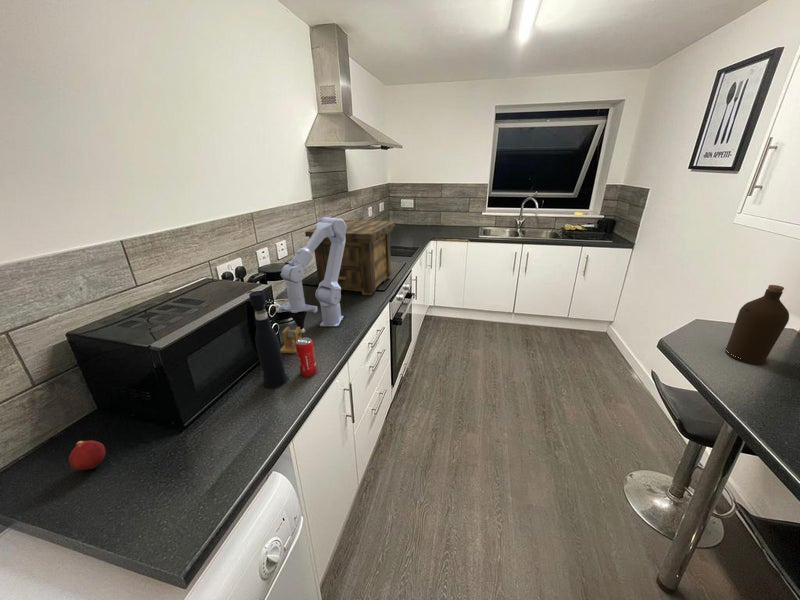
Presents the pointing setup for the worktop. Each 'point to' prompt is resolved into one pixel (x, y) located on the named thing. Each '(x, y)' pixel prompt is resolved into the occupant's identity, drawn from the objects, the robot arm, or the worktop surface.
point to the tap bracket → (290, 340)
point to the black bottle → (267, 344)
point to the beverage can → (306, 356)
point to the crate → (359, 255)
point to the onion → (87, 455)
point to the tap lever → (290, 332)
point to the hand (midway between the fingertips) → (301, 328)
